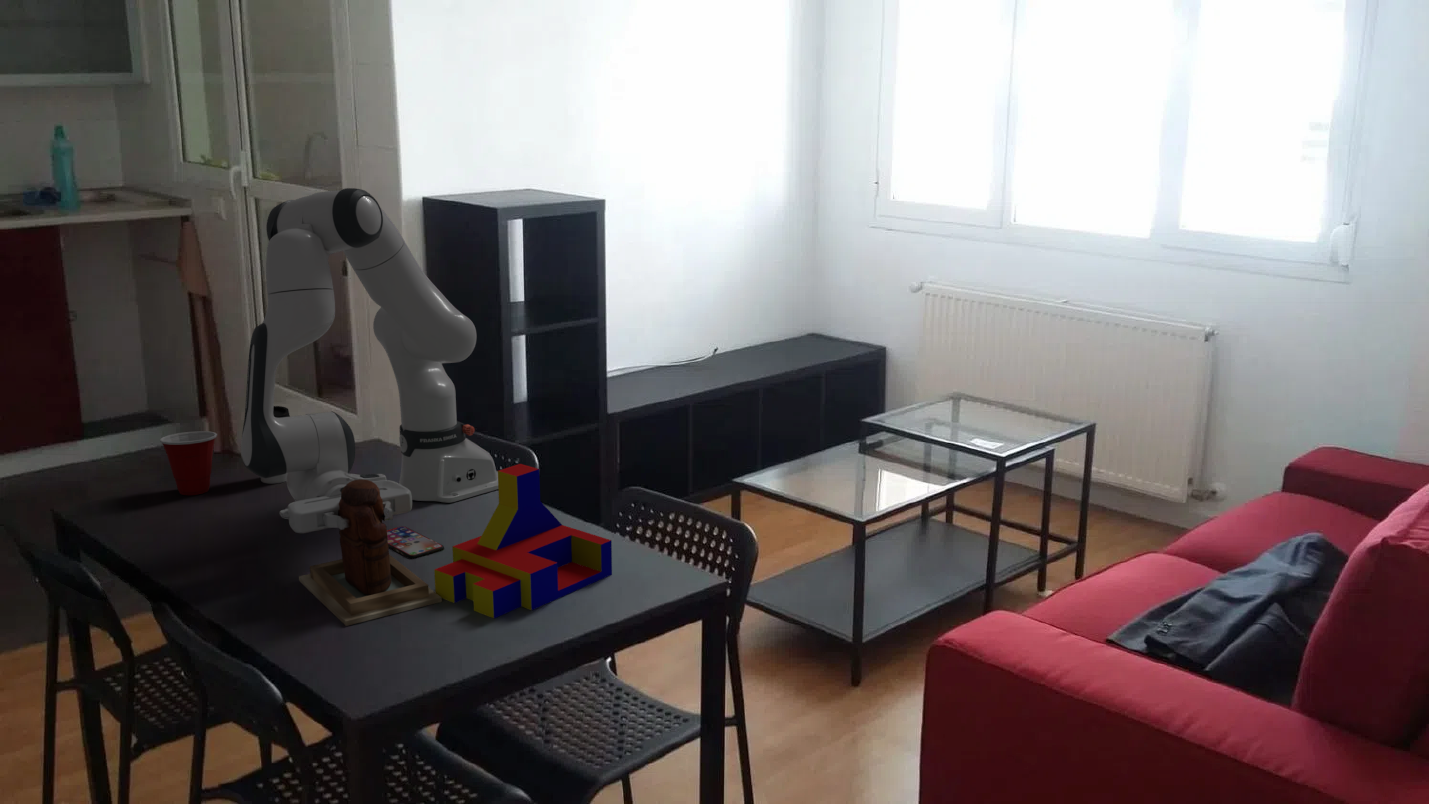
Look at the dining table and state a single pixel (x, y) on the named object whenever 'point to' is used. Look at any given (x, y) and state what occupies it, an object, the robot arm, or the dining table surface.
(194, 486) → the plastic cup
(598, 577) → the building blocks toy
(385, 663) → the dining table surface
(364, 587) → the wooden figurine
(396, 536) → the smartphone
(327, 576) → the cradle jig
